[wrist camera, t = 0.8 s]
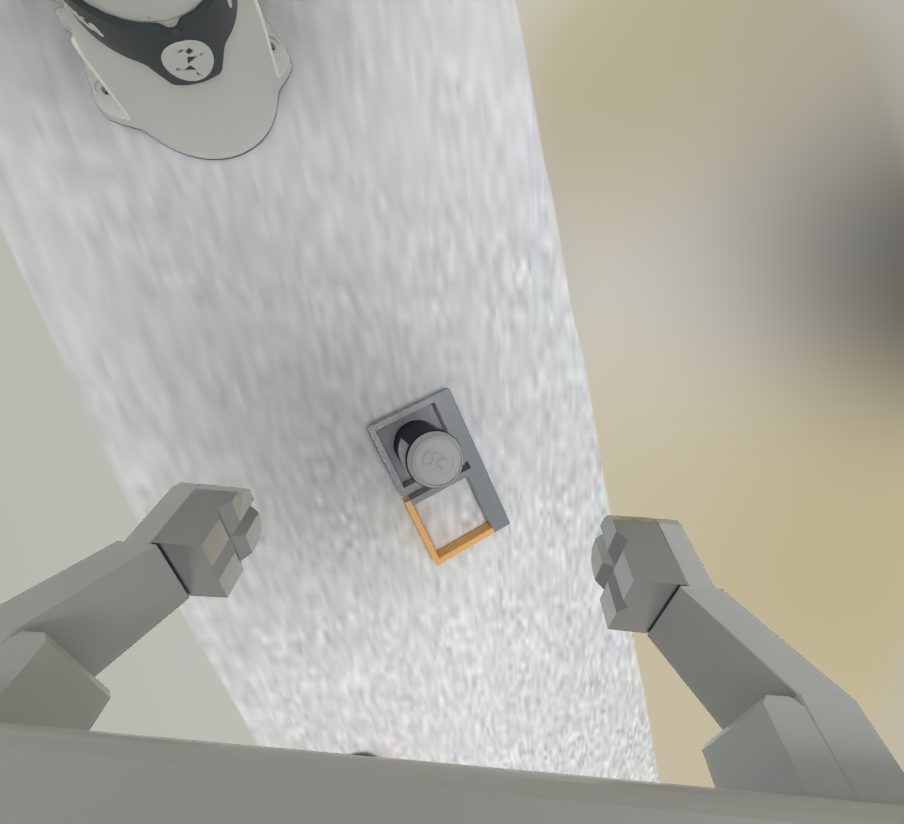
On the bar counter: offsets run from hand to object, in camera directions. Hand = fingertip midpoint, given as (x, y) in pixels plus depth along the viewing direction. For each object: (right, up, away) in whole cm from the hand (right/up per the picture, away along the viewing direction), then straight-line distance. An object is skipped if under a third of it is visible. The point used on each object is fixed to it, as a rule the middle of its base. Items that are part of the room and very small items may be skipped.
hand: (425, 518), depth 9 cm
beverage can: (-4, -1, +39) cm, 40 cm away
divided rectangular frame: (-2, -6, +40) cm, 40 cm away
